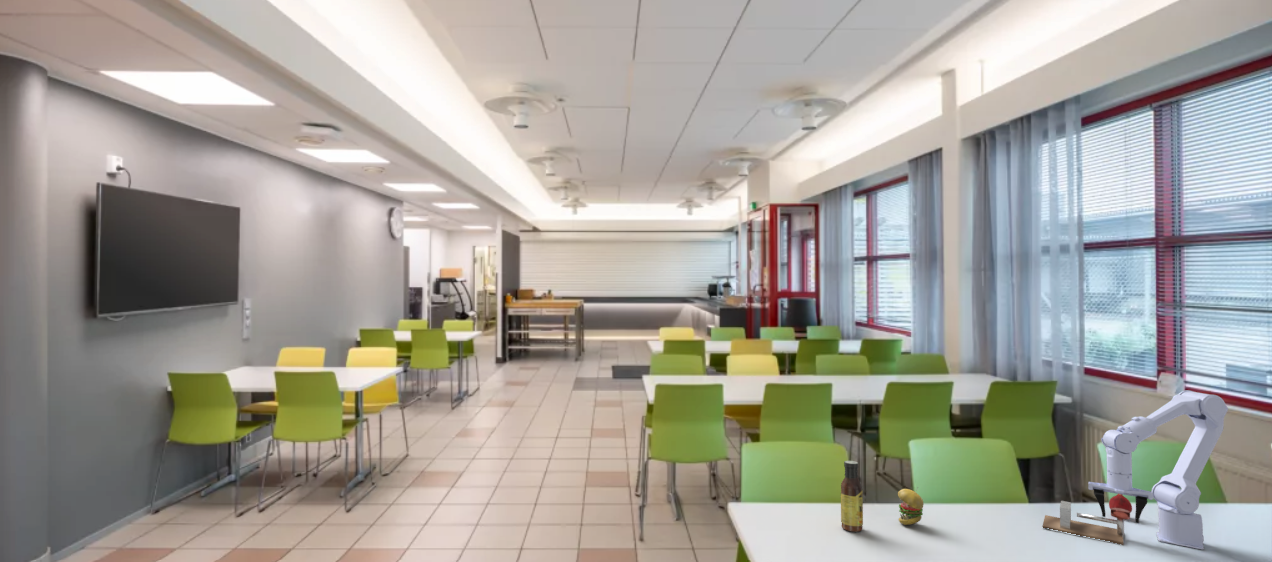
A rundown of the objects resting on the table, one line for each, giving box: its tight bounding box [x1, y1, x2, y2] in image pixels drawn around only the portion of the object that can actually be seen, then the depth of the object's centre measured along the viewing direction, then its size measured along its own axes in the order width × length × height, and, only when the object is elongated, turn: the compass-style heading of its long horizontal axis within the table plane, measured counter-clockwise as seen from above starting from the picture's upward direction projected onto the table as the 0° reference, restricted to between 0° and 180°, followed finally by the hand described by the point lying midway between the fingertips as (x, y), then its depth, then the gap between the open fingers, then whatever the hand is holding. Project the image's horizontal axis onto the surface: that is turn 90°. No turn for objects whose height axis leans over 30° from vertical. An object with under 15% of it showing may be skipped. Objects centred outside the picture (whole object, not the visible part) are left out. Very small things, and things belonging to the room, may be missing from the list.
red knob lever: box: [1076, 508, 1131, 537], centre depth 174 cm, size 12×4×7 cm, turn 52°
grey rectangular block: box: [1059, 500, 1072, 529], centre depth 179 cm, size 2×8×6 cm, turn 142°
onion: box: [1108, 494, 1133, 514], centre depth 188 cm, size 6×6×8 cm
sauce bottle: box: [840, 460, 864, 533], centre depth 177 cm, size 6×6×20 cm
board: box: [1041, 514, 1124, 546], centre depth 177 cm, size 19×12×1 cm, turn 52°
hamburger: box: [897, 486, 924, 526], centre depth 180 cm, size 8×7×12 cm
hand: (1120, 518), depth 171 cm, fingers open, 7 cm apart
